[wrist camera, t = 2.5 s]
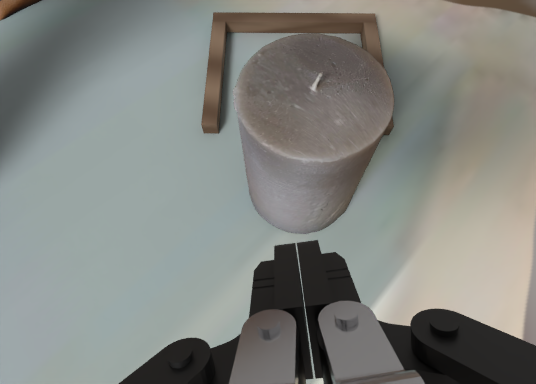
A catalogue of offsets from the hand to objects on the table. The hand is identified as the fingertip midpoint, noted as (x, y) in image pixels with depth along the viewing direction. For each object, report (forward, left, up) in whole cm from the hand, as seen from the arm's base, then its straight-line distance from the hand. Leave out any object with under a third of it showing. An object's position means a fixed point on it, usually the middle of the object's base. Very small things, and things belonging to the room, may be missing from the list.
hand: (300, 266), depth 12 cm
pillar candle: (-2, +11, -18) cm, 22 cm away
